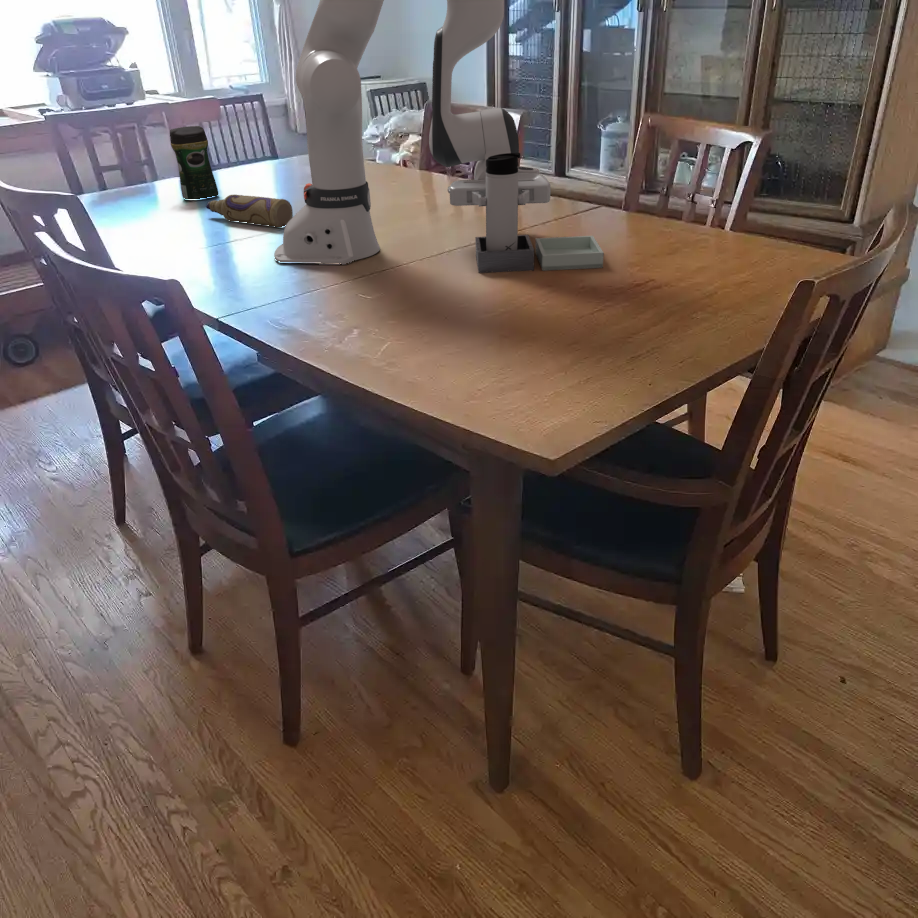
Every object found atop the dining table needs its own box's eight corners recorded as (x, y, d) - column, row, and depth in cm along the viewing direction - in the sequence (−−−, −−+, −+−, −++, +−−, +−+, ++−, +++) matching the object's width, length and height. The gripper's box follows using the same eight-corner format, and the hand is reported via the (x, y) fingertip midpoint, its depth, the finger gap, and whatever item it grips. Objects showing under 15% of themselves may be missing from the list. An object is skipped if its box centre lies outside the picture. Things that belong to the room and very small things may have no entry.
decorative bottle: (297, 224, 194) (293, 196, 190) (276, 232, 188) (271, 203, 185) (221, 213, 206) (216, 186, 202) (199, 220, 200) (194, 193, 197)
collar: (478, 272, 156) (478, 252, 154) (475, 256, 165) (475, 237, 163) (533, 270, 156) (534, 250, 154) (528, 253, 165) (528, 234, 163)
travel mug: (516, 263, 157) (518, 156, 146) (483, 261, 158) (482, 156, 148) (520, 253, 162) (522, 150, 152) (489, 252, 163) (488, 149, 153)
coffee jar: (214, 192, 226) (200, 122, 216) (222, 198, 220) (208, 126, 210) (179, 198, 222) (164, 127, 212) (186, 203, 216) (171, 130, 206)
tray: (542, 270, 156) (542, 255, 154) (535, 252, 166) (535, 238, 164) (602, 267, 156) (603, 252, 154) (592, 249, 166) (592, 235, 164)
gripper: (446, 171, 163) (448, 186, 152) (545, 168, 164) (554, 183, 152) (447, 202, 167) (449, 219, 155) (544, 199, 167) (553, 216, 155)
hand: (502, 201), depth 153 cm, fingers closed on travel mug, 6 cm apart
